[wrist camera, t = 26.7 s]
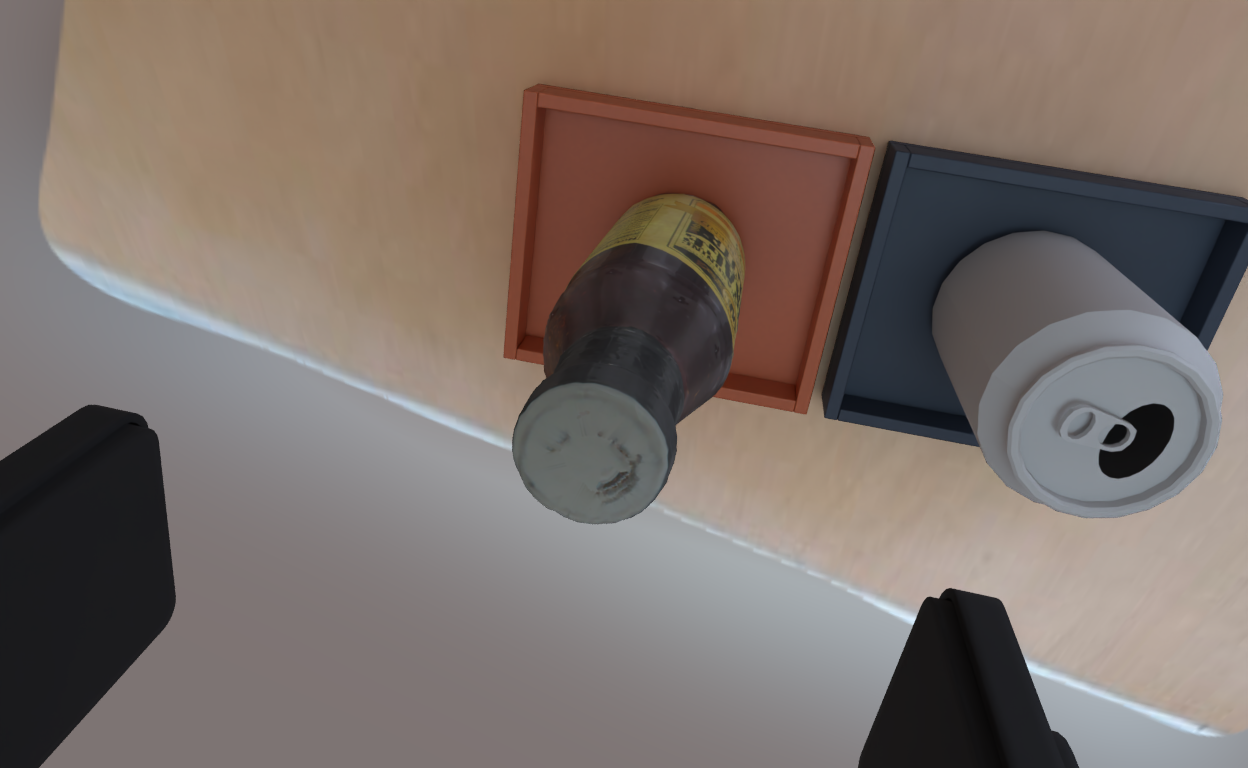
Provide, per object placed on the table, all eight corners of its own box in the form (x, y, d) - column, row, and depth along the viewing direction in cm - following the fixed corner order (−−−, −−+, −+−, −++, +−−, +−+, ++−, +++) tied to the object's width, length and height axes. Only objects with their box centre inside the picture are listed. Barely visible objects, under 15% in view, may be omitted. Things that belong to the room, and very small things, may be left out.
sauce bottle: (757, 305, 40) (745, 572, 22) (626, 327, 41) (515, 594, 23) (732, 164, 37) (694, 335, 19) (593, 192, 38) (439, 375, 21)
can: (1048, 409, 39) (1151, 571, 29) (897, 349, 39) (944, 488, 29) (1148, 264, 36) (1306, 386, 25) (983, 197, 36) (1073, 291, 25)
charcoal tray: (821, 395, 42) (823, 418, 39) (888, 140, 36) (896, 150, 34) (1127, 452, 40) (1147, 479, 38) (1243, 197, 35) (1274, 211, 33)
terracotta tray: (516, 338, 43) (503, 357, 41) (538, 83, 37) (523, 90, 35) (804, 392, 42) (806, 415, 39) (869, 137, 36) (875, 146, 34)
